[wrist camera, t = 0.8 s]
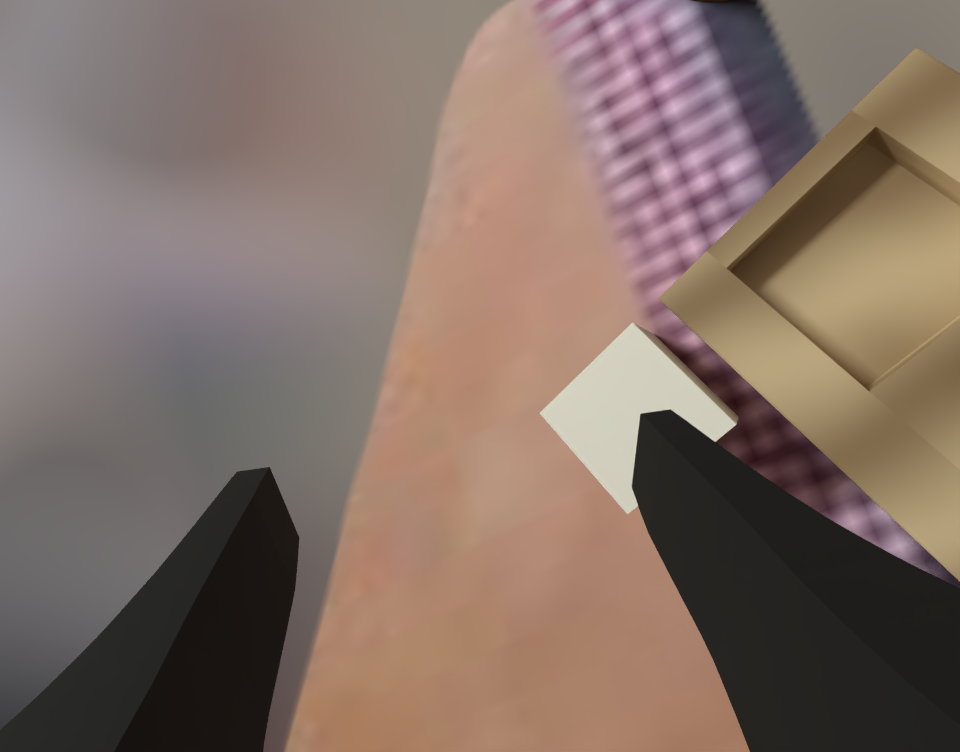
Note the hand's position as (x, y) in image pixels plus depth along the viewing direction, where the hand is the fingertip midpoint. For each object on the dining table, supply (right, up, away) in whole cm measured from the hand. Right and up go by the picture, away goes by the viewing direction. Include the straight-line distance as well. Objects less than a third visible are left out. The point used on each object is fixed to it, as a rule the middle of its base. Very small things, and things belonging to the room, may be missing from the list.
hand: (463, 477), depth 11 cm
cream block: (+8, 0, +13) cm, 16 cm away
